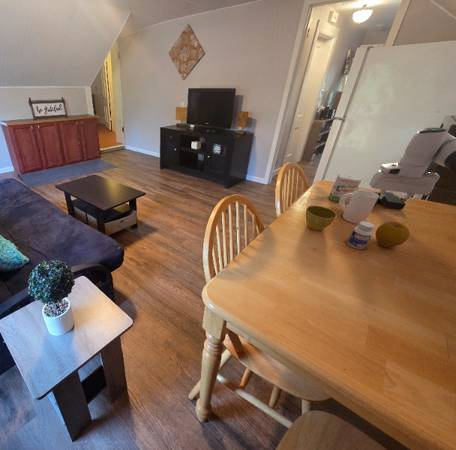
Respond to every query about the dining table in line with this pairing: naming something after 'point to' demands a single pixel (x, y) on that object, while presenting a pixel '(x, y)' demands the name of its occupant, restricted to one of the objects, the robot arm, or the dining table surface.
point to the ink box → (344, 187)
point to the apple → (391, 234)
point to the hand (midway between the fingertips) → (391, 200)
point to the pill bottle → (361, 235)
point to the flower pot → (319, 217)
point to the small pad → (392, 201)
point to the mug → (358, 205)
